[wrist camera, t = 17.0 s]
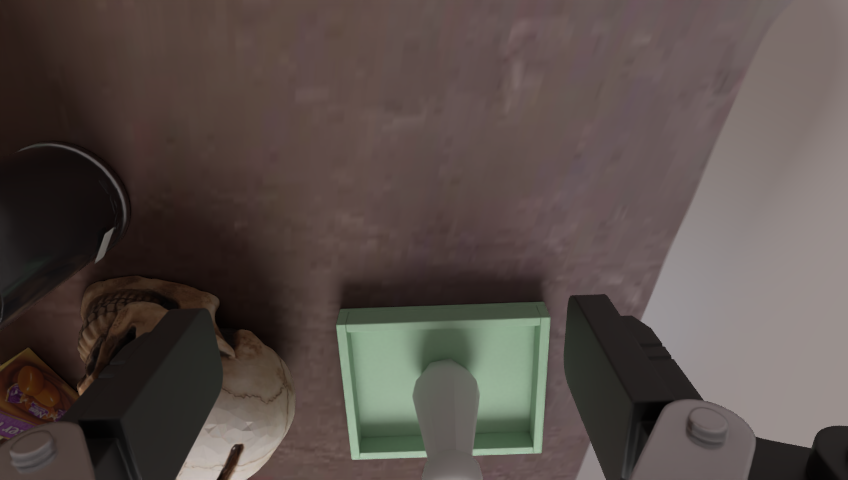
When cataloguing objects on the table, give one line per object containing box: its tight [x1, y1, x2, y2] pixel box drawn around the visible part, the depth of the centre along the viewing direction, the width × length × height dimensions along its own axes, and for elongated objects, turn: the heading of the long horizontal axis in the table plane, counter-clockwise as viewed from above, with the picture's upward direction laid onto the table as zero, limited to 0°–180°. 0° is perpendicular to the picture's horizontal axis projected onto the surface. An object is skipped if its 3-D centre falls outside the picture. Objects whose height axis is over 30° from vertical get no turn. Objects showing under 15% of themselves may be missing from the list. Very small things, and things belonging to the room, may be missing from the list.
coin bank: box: [77, 275, 296, 480], centre depth 43 cm, size 16×17×13 cm
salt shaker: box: [412, 358, 483, 480], centre depth 43 cm, size 6×6×13 cm
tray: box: [336, 302, 550, 460], centre depth 48 cm, size 18×15×3 cm
